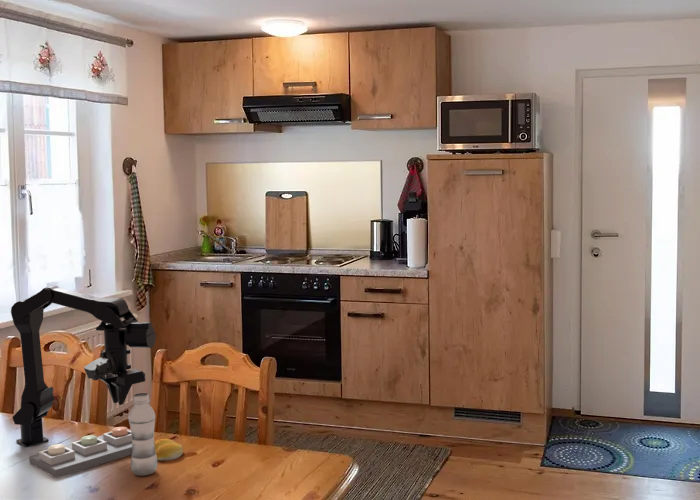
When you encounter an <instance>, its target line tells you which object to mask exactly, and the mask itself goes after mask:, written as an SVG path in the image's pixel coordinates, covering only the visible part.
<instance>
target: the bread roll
mask: <svg viewBox="0 0 700 500" xmlns="http://www.w3.org/2000/svg"><path fill="white" fill-rule="evenodd" d="M154 444H155V452H156V456H157V460H158V461H162V462H163V461H173V460H176V459H178V458H180V457H181V456H182V455H183V454H184V453H183V452H184V449H183V448H184V447H183V446H182V444H180V443H177V442H176V441H174V440H173V439H170V438H161V439H158V440H156V441H154Z"/></svg>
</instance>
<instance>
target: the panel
mask: <svg viewBox="0 0 700 500" xmlns="http://www.w3.org/2000/svg"><path fill="white" fill-rule="evenodd" d="M127 430H128V435H125V436H122V437H119V438H115V437H113V436H112V430H111V431H108V432H105V433H102V435H99V436H97V444H94V445H91V446H87V447H84V446H82V445H81V439H80V440H77V441H72V442H71V443H70V444H67V445H65V453H63V454H60V455H56V456H50V455H48V448H47V449H45V450H41V451H38V453H35V454H32V455H31V454H30V455H29V456H28V457H29V458H28V459H29V464H30V465H31V466H33V467H35V468H37V469H39V470H40V471H43V472H45V473H47V474H48V475H50V476H52V477H54V478H60V477H63V476H66V475H70V474H74V473H76V472H79V471H82V470H86V469H89V468H92V467H97V466H99V465H102V464H104V463H105V464H107V463H109V462H111V461H115V460H118V459H122V458H125V457H128V456H132V437H131V429H130V430H129V429H128V428H127Z"/></svg>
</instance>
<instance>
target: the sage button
mask: <svg viewBox="0 0 700 500" xmlns="http://www.w3.org/2000/svg"><path fill="white" fill-rule="evenodd" d="M97 437H98V436H97V435H94V434H90V435H85V436H84V435H83V436H82V437H81V438H80V440H81V445H82V446H84V447H87V446H91V445H94V444H97Z"/></svg>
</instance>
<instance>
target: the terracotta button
mask: <svg viewBox="0 0 700 500" xmlns="http://www.w3.org/2000/svg"><path fill="white" fill-rule="evenodd" d="M127 429H128V427H126V426H118V427H114V428H112V429H111V431H112V436H113V437H115V438H119V437H122V436H125V435H128V430H129V429H128V430H127Z"/></svg>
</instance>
